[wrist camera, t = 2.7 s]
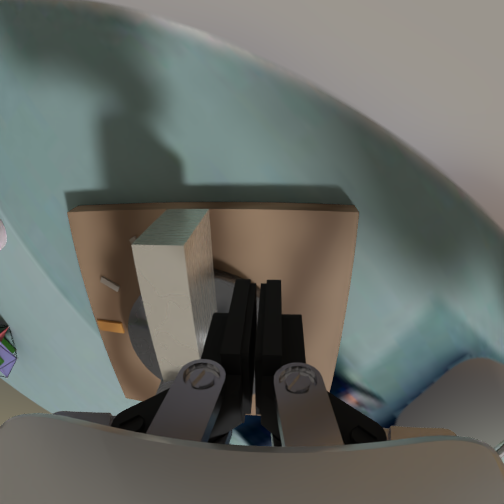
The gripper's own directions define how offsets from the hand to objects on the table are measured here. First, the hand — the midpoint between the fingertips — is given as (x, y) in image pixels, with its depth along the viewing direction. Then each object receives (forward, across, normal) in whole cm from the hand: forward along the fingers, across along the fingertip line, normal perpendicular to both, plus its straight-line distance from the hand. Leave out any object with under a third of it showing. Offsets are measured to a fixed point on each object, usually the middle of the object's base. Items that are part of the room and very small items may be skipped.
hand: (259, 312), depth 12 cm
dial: (+9, +4, +7) cm, 12 cm away
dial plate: (+10, +4, +9) cm, 14 cm away
